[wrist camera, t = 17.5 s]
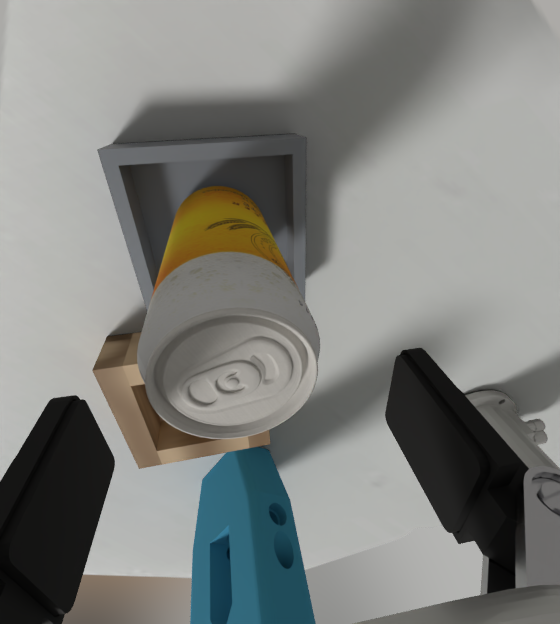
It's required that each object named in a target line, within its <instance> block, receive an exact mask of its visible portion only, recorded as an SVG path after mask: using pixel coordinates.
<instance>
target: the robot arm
mask: <svg viewBox="0 0 560 624" xmlns="http://www.w3.org/2000/svg"><path fill="white" fill-rule="evenodd" d="M516 410H517V409H516V405H515V403H514V402H513V400H511V399H510V398H509V397H508V396H507V395H506V394H504V393H502V392H500V391H493V390H488V391H479V392H474V393H471V394H468V395H464V394H463V393H462V392H461V391H460V390H459V389H458V388H457V387H456V386H455V385H454V384H453V382H452V381H451V380H450V379H449V378H448V377H447V375H446V374H445V373H444V372H443V371H442V370H441V369H440V367H439V366H438V365H437V364H436V363H435V362H434V361H433V359H432V358H431V357H430V356H429V355H428V354H427V353H426V351H425V350H423V349H422V348H415V349H408V350H403V351H402V352H401V354H400V355H399V356H397V357H396V360H395V365H394V370H393V376H392V381H391V386H390V391H389V397H388V402H387V407H386V412H385V417H386V421H387V424H388V426H389V428H390V430H391V431H392V433H393V435H394V437H395V439H396V441H397V443H398V444H399V446H400V448H401V450H402V452H403V454H404V455H405V457H406V459H407V461H408V463H409V465H410V466H411V468H412V470H413V472H414V474H415V476H416V477H417V479H418V481H419V483H420V485H421V487H422V488H423V490H424V492H425V494H426V496H427V498H428V499H429V501H430V503H431V505H432V507H433V509H434V510H435V512H436V514H437V516H438V518H439V520H440V522H441V523H442V525H443V527H444V528H445V529H446V530H447V532H449V533H453V535H454V537H455V539H456V540H457V542H458V544H461V543H465V542H470V541H475V542H476V544H477V545H478V547H479V549H480V550H481V552H482V554H483V565H482V580H481V595H479V596H474V597H469V598H464V599H460V600H455V601H450V602H445V603H441V604H437V605H432V606H428V607H424V608H419V609H415V610H411V611H406V612H402V613H397V614H393V615H389V616H384V617H380V618H376V619H371V620H367V621H362V622H358V623H354V624H560V468H559V467H558V466H557V465H556V464H555V463H554V462H553V461H552V460H551V459H550V458H549V457H548V456H547V455H546V454H545V453H544V452H543V451H542V449H541V448H540V447H539V446H538V444H543V443H546V442H547V435H546V433H545V432H544V431H543V430H544V429H545V424H544V422H543V421H542V420H540V419H534V420H529V421H527V422H524V421H522V419H521V418H520V417H519V416H518V415H517V414H516ZM114 465H115V461H114V456H113V454H112V452H111V450H110V448H109V446H108V444H107V442H106V440H105V438H104V436H103V434H102V432H101V430H100V428H99V426H98V424H97V422H96V420H95V418H94V416H93V414H92V412H91V410H90V408H89V406H88V404H87V402H86V401H85V400H80V399H79V397H78V396H66V397H59V398H53V399H51V400H50V401H49V402H48V404H47V406H46V407H45V409H44V411H43V412H42V414H41V416H40V417H39V419H38V421H37V422H36V424H35V426H34V427H33V429H32V431H31V432H30V434H29V436H28V438H27V439H26V441H25V443H24V444H23V446H22V448H21V449H20V451H19V453H18V454H17V456H16V458H15V459H14V460H13V462H12V463H11V465H10V466H9V468H8V470H7V471H6V473H5V475H4V476H3V478H2V480H1V481H0V624H62V621H63V618H64V615H65V614H66V613H68V612H69V611H70V610H71V608H72V607H73V604H74V602H75V598H76V595H77V592H78V589H79V585H80V582H81V578H82V575H83V572H84V568H85V565H86V562H87V558H88V555H89V552H90V548H91V545H92V542H93V538H94V535H95V531H96V528H97V525H98V521H99V518H100V515H101V511H102V508H103V505H104V501H105V498H106V495H107V491H108V488H109V484H110V481H111V478H112V474H113V471H114Z"/></svg>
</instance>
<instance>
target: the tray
mask: <svg viewBox="0 0 560 624" xmlns="http://www.w3.org/2000/svg"><path fill="white" fill-rule="evenodd" d="M97 151H98V154H99V157H100V160H101V164H102V167H103V170H104V173H105V176H106V180H107V183H108V186H109V189H110V193H111V196H112V199H113V202H114V206H115V209H116V212H117V215H118V218H119V222H120V225H121V228H122V231H123V235H124V238H125V241H126V244H127V248H128V251H129V254H130V257H131V261H132V264H133V267H134V270H135V273H136V277H137V280H138V283H139V286H140V290H141V293H142V296H143V299H144V303H145V306H146V309H147V312H148V308H149V305H150V301H151V298H152V295H153V291H154V288H155V284H156V281H157V277H158V274H159V270H160V267H161V263H162V260H163V257H164V253H165V250H166V246H167V243H168V239H169V236H170V232H171V229H172V225H173V222H174V219H175V215H176V213H177V210H178V208H179V207H180V205H181V204H182V202H183V201H184V200H185V199H186V198H187V197H188V196H190V195H191V194H192V193H194V192H196V191H198V190H200V189H202V188H206V187H210V186H225V187H230V188H233V189H236V190H238V191H240V192H242V193H244V194H245V195H247V196H248V197H249V198H250V199H252V201H253V202H254V203H255V204H256V205H257V207H258V208H259V210H260V212H261V213H262V215H263V218H264V220H265V222H266V224H267V226H268V228H269V230H270V232H271V234H272V236H273V238H274V240H275V242H276V244H277V246H278V248H279V250H280V252H281V254H282V256H283V258H284V260H285V262H286V264H287V266H288V268H289V270H290V272H291V275H292V277H293V279H294V281H295V283H296V285H297V287H298V289H299V291H300V293H301V295H302V297H303V299H304V301H305V255H306V137H303V136H300V135H297V134H278V135H260V136H243V137H225V138H207V139H189V140H171V141H154V142H136V143H118V144H110V145H108V146H105V147H103V148H100V149H98V150H97Z"/></svg>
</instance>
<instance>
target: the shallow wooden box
mask: <svg viewBox="0 0 560 624" xmlns="http://www.w3.org/2000/svg"><path fill="white" fill-rule="evenodd" d="M141 333H142V332H137V333H130V334H122V335H115V336H107V338H106V340H105V343H104V345H103V347H102V350H101V352H100V354H99V356H98V359H97V361H96V363H95V366H94V368H93V370H92V371H93V373H94V375H95V377H96V379H97V381H98V383H99V385H100V387H101V390H102V392H103V394H104V396H105V398H106V400H107V402H108V404H109V406H110V408H111V411H112V413H113V415H114V417H115V419H116V421H117V423H118V425H119V427H120V429H121V432H122V434H123V436H124V438H125V440H126V442H127V444H128V446H129V448H130V450H131V453H132V455H133V457H134V459H135V461H136V463H137V465H138V467H139V469H140V468H146V467H151V466H156V465H162V464H167V463H172V462H178V461H183V460H188V459H194V458H199V457H204V456H210V455H215V454H220V453H226V452H231V451H237V450H242V449H247V448H253V447H258V446H263V445H269V444H270V434H269V430H267V431H264V432H262V433H259V434H255V435H252V436H247V437H242V438H235V439H211V438H204V437H199V436H195V435H191V434H188V433H185V432H183V431H181V430H179V429H177V428H175V427H173V426H171V425H170V424H168V423H167V422H166V421H165V420H163V419H162V418H161V417H160V416H159V415H158V414H157V413H156V411H155V410H154V409H153V407H152V405H151V403H150V402H149V399H148V396H147V393H146V387H145V383H144V381H143V379H142V377H141V374H140V371H139V368H138V362H137V349H138V343H139V339H140V336H141Z"/></svg>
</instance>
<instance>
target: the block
mask: <svg viewBox="0 0 560 624" xmlns="http://www.w3.org/2000/svg"><path fill="white" fill-rule="evenodd" d="M190 624H315V619H314V614H313V609H312V604H311V600H310V594H309V590H308V585H307V580H306V575H305V570H304V565H303V561H302V556H301V551H300V546H299V541H298V536H297V531H296V527H295V522H294V517H293V512H292V507H291V502H290V499H289V497H288V494H287V492H286V490H285V487H284V485H283V482H282V480H281V478H280V475H279V473H278V471H277V468H276V466H275V464H274V461H273V459H272V456H271V454H270V452H269V450H267V449H264V448H260V447H253V448H247V449H242V450H237V451H231V452H227V453H226V454H225V455H224V456H223V457H222V458H221V459H220V461H219V462H218V463H217V464H216V465H215V466H214V467H213V468H212V470H211V471H210V472H209V473H208V474H207V475H206V476H205V477H204V479H203V480H202V487H201V494H200V501H199V509H198V516H197V524H196V531H195V539H194V546H193V562H192V592H191V621H190Z"/></svg>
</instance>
